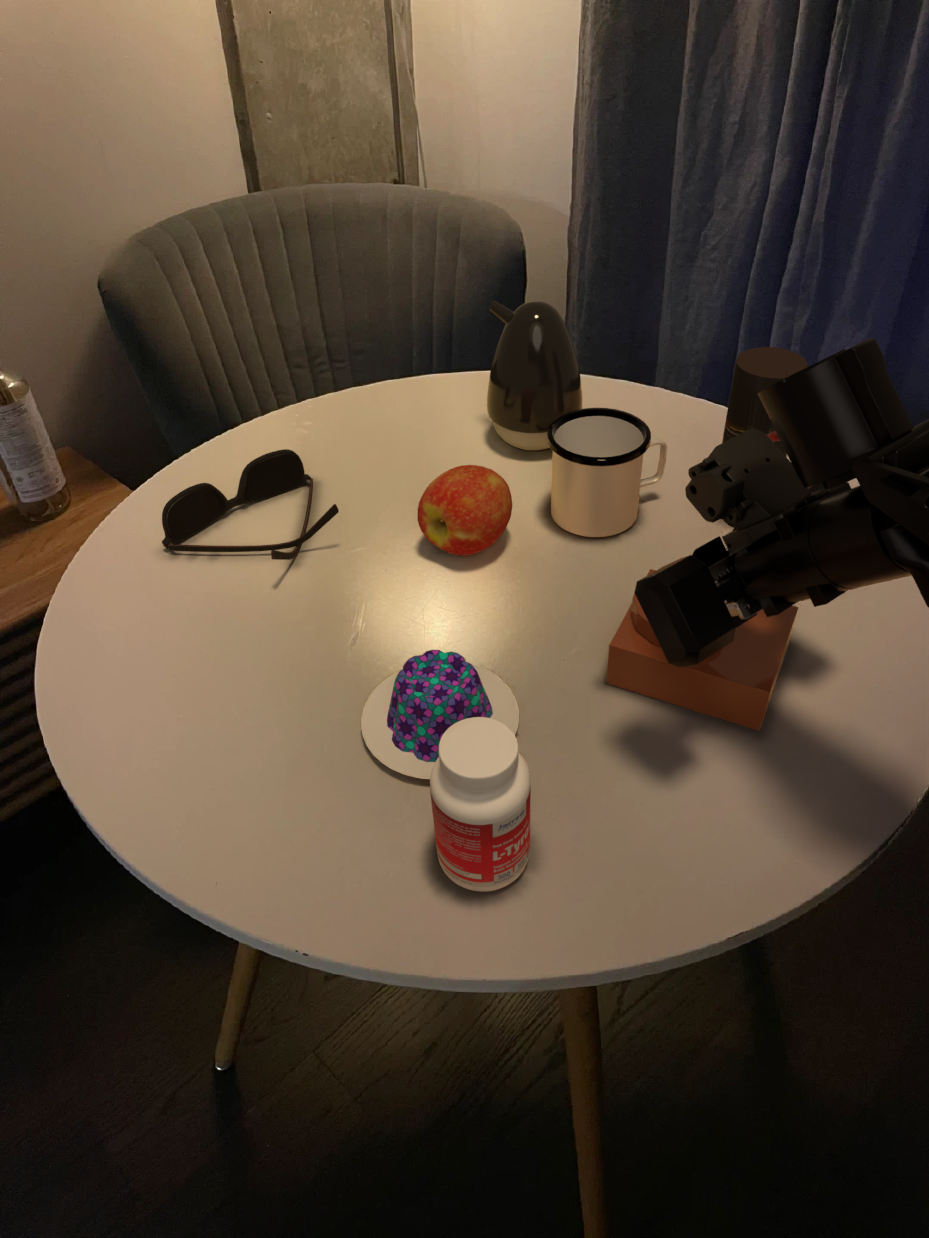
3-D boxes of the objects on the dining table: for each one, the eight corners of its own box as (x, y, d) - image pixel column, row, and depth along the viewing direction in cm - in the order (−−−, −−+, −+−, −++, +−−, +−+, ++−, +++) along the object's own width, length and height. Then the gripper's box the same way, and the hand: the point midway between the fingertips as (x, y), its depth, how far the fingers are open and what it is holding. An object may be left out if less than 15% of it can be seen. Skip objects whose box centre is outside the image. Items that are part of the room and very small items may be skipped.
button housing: (788, 645, 72) (803, 589, 68) (759, 731, 66) (774, 674, 62) (645, 606, 76) (652, 551, 72) (605, 683, 70) (610, 627, 66)
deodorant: (781, 522, 84) (815, 377, 74) (718, 524, 85) (744, 379, 75) (767, 487, 89) (797, 346, 79) (706, 489, 89) (729, 348, 79)
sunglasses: (233, 615, 78) (221, 571, 75) (158, 544, 86) (143, 501, 83) (384, 534, 86) (379, 491, 83) (302, 476, 94) (294, 435, 91)
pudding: (483, 806, 62) (481, 758, 58) (333, 757, 66) (322, 710, 62) (541, 688, 70) (542, 640, 66) (404, 651, 74) (398, 604, 70)
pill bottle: (503, 910, 56) (499, 805, 48) (420, 870, 58) (405, 764, 51) (545, 836, 60) (549, 728, 52) (466, 801, 62) (458, 693, 55)
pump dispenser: (517, 406, 103) (516, 276, 93) (597, 429, 99) (605, 294, 88) (468, 446, 97) (461, 311, 87) (550, 472, 93) (554, 333, 82)
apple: (408, 548, 84) (400, 477, 79) (467, 508, 88) (463, 438, 83) (471, 582, 80) (467, 509, 75) (529, 538, 84) (530, 466, 79)
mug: (570, 552, 82) (574, 469, 76) (530, 499, 89) (530, 419, 83) (684, 522, 85) (696, 439, 79) (636, 473, 92) (644, 393, 86)
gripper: (882, 371, 56) (722, 450, 70) (674, 476, 49) (541, 541, 63) (956, 528, 57) (782, 575, 71) (762, 657, 49) (610, 681, 63)
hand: (683, 589), depth 67 cm, fingers closed, pressing on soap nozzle
